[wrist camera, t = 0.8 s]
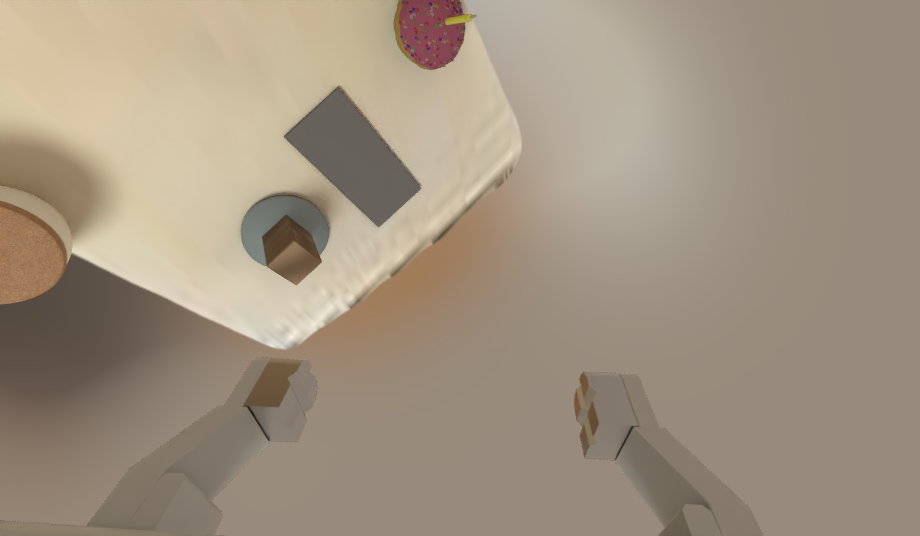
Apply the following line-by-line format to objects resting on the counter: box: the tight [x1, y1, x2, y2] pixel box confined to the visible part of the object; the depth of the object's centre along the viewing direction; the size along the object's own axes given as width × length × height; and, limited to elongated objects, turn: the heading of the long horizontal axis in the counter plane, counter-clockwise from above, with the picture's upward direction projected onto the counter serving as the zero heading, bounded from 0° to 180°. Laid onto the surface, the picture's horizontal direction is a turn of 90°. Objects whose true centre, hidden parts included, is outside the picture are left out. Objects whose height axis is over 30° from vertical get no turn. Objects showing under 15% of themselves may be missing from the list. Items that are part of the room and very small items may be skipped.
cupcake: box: [394, 0, 476, 70], centre depth 42 cm, size 9×8×12 cm
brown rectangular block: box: [262, 215, 322, 285], centre depth 48 cm, size 4×4×8 cm
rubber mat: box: [284, 87, 421, 227], centre depth 52 cm, size 18×9×1 cm, turn 34°
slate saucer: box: [241, 195, 329, 266], centre depth 51 cm, size 11×11×3 cm
